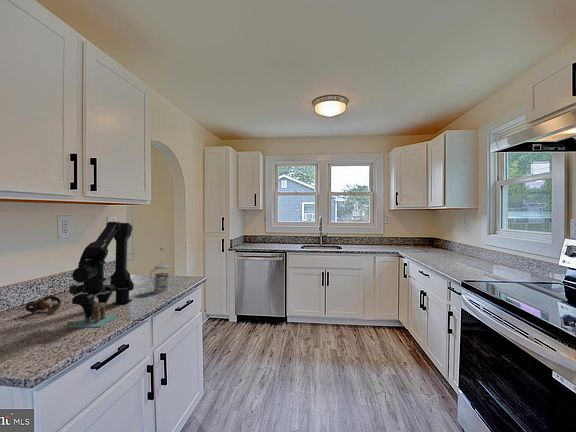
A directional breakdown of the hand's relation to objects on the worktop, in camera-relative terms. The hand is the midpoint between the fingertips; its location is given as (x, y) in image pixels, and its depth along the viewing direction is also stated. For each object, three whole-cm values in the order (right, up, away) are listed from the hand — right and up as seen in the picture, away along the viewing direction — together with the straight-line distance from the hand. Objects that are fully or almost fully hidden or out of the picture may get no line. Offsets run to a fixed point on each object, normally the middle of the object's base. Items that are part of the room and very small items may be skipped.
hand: (94, 314), depth 117 cm
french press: (+6, -3, +46) cm, 47 cm away
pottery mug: (-29, -3, +9) cm, 30 cm away
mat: (0, -3, 0) cm, 3 cm away
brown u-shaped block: (0, -3, 0) cm, 3 cm away
